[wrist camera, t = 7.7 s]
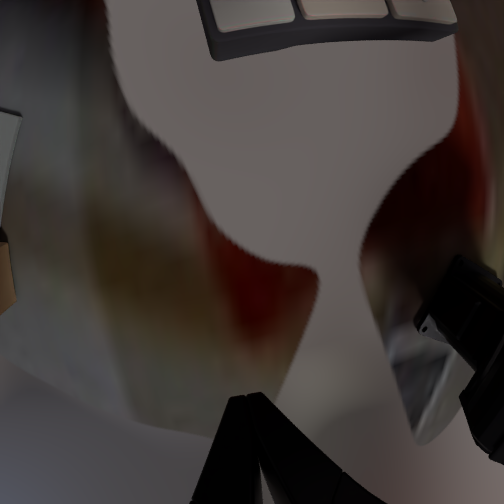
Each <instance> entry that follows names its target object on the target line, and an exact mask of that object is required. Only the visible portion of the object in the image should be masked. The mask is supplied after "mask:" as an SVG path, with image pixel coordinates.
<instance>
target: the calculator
mask: <svg viewBox="0 0 504 504" xmlns="http://www.w3.org/2000/svg"><path fill="white" fill-rule="evenodd" d="M196 1H197V5H198V9H199V13H200V16H201V20H202V24H203V28H204V31H205V36H206V39H207V43H208V47H209V51H210V55H211V57H212V59H213V60H215V61H225V60H230V59H234V58H239V57H244V56H249V55H255V54H260V53H266V52H273V51H278V50H281V49H285V48H288V47H292V46H296V45H304V44H313V43H325V42H339V41H360V40H406V41H425V42H433V41H436V40H439V39H441V38H444V37H446V36H449V35H451V34H454V33H456V32H458V25H457V19H456V15H455V13H454V10H453V8H452V5H451V2H450V0H196Z"/></svg>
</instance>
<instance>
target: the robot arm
mask: <svg viewBox="0 0 504 504" xmlns="http://www.w3.org/2000/svg"><path fill="white" fill-rule="evenodd" d="M460 260H461V261H460ZM459 261H460V263H459ZM458 263H459V264H458ZM423 327H425V328H424V329H423ZM417 331H418V332H419V334H421V335H423V336H426V337H429V338H432V339H435V340H438V341H441V342H444V343H448V344H450V345H451V346H452V347H453V348H454V349H455V350H456V351H457V352H458V353H459V354H460V355H461V357H462V358H463V359H464V360H465V361H466V362H467V363H468V364H469V365H470V366H471V368H472V369H473V370H474V371H475V373H474V375H473V377H472V378H471V380H470V382H469V383H468V385H467V386H466V388H465V390H463V391H462V392H461V394H460V395H459V399H460V402H461V405H462V407H463V410H464V413H465V416H466V419H467V422H468V425H469V428H470V431H471V434H472V437H473V439H474V441H475V443H476V445H477V446H479V447H480V448H481V449H482V450H483V451H484V452H485V453H487V454H489V459H490V460H493V461H495V462H498V463H501V464H503V465H504V288H503V287H502V281H501V280H500V279H499V278H497V277H496V276H494V275H492V274H491V273H489V272H488V271H486V270H485V269H483V268H481V267H480V266H478V265H477V264H475V263H473V262H472V261H470V260H468V259H467V258H465V257H463V256H462V255H457V256H456V257H455V258H454V260H453V262H452V264H451V266H450V268H449V270H448V272H447V274H446V276H445V278H444V279H443V281H442V283H441V285H440V287H439V289H438V291H437V293H436V295H435V296H434V298H433V300H432V302H431V304H430V305H429V307H428V309H427V311H426V312H425V314H424V316H423V317H422V319H421V321H420V322H419V324H418V326H417ZM259 463H260V465H259ZM260 467H261V470H262V473H263V476H264V478H265V481H266V483H267V486H268V489H269V491H270V494H271V496H272V498H273V501H274V503H275V504H387V503H385V502H384V501H382V500H380V499H379V498H378V497H376V496H375V495H373V494H371V493H370V492H369V491H367V490H366V489H365V488H364V487H362V486H361V485H360V484H359V483H357V482H356V481H355V480H354V479H352V478H351V477H350V476H349V475H348V474H347V473H346V472H342V469H341V468H340V467H339V466H338V465H336V464H335V463H334V462H333V461H332V460H331V459H330V458H329V457H328V456H327V455H326V454H324V453H323V452H322V451H321V450H320V449H319V448H318V447H317V446H316V445H315V444H314V443H313V442H311V441H310V440H309V439H308V438H307V437H306V436H305V435H304V434H303V433H302V432H301V431H300V430H299V429H298V428H297V427H296V426H295V425H294V424H293V423H292V422H291V421H290V420H289V419H288V418H287V417H286V416H285V415H284V414H283V413H282V412H281V411H280V410H279V409H278V408H277V407H276V406H275V405H274V404H273V403H272V402H271V401H270V400H269V399H268V398H267V397H266V396H265V395H264V394H263V393H262V392H257V393H251V394H247V396H245V395H239V396H233V397H230V398H229V400H228V403H227V405H226V408H225V411H224V414H223V416H222V419H221V422H220V425H219V427H218V430H217V433H216V435H215V438H214V441H213V443H212V446H211V449H210V451H209V454H208V457H207V459H206V462H205V465H204V467H203V470H202V473H201V475H200V478H199V480H198V483H197V486H196V488H195V491H194V493H193V496H192V500H193V501H190V503H189V504H263V496H262V484H261V473H260Z"/></svg>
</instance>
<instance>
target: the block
mask: <svg viewBox="0 0 504 504" xmlns="http://www.w3.org/2000/svg"><path fill="white" fill-rule="evenodd" d="M16 301H17V300H16V295H15V289H14V284H13V277H12V271H11V264H10V256H9V248H8V243H5V242H0V315H1V314H2V313H3V312H4V311H6V310H7V309H8V308H9V307H10V306H11V305H13V304H14V303H15V302H16Z"/></svg>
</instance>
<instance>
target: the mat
mask: <svg viewBox="0 0 504 504" xmlns="http://www.w3.org/2000/svg"><path fill="white" fill-rule="evenodd" d="M22 118H23V117H20V116H16V115H13V114H9V113H5V112H2V111H0V226H1V218H2V210H3V203H4V197H5V191H6V185H7V179H8V174H9V169H10V164H11V160H12V155H13V151H14V147H15V143H16V139H17V135H18V132H19V128H20V124H21V121H22Z"/></svg>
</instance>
